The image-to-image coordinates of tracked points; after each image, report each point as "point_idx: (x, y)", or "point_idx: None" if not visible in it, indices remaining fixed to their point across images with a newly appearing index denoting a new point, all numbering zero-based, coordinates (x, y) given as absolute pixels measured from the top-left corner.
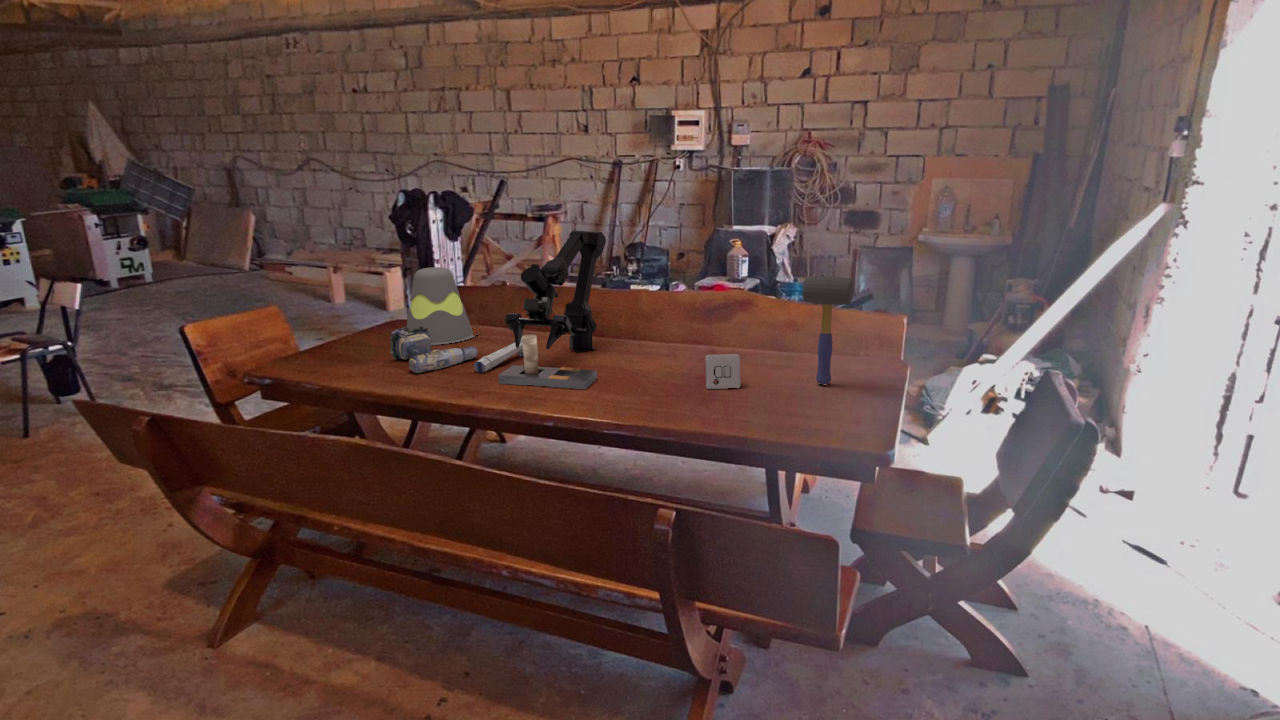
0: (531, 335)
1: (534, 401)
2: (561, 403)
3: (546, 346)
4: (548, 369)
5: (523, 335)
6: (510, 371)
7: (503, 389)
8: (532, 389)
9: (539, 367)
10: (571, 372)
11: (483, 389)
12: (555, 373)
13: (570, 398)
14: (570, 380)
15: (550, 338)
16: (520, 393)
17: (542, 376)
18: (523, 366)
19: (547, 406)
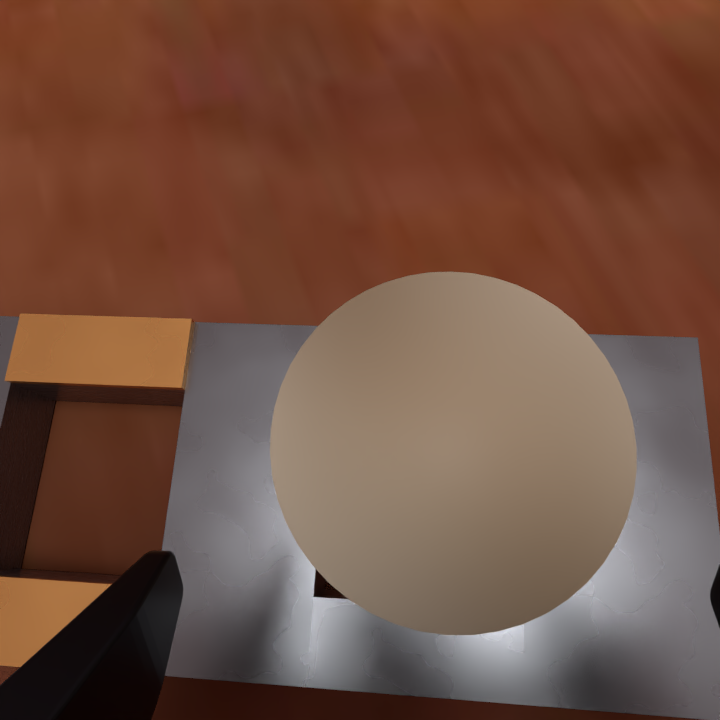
0: (419, 509)
1: (235, 73)
2: (60, 75)
3: (163, 562)
4: (271, 600)
5: (634, 479)
6: (640, 468)
7: (548, 239)
8: (327, 277)
9: (392, 663)
10: (33, 577)
11: (703, 213)
12: (172, 493)
13: (18, 161)
14: (1, 317)
15: (20, 685)
16: (383, 185)
17: (263, 367)
18: (590, 677)
19: (133, 20)
